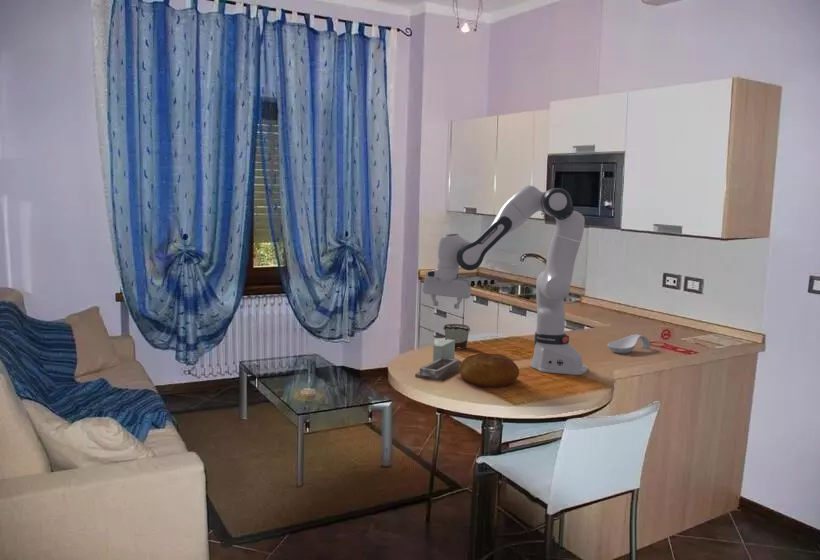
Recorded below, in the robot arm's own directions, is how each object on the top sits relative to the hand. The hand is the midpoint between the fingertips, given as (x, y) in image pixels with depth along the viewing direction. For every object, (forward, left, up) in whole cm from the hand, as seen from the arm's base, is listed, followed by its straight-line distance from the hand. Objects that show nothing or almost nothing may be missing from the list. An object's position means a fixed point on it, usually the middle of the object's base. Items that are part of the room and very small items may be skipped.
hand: (446, 307), depth 276 cm
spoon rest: (-64, -64, -23) cm, 93 cm away
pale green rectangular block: (0, 0, -23) cm, 23 cm away
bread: (-26, +18, -23) cm, 39 cm away
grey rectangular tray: (-6, +18, -23) cm, 30 cm away
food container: (+6, -29, -23) cm, 37 cm away
